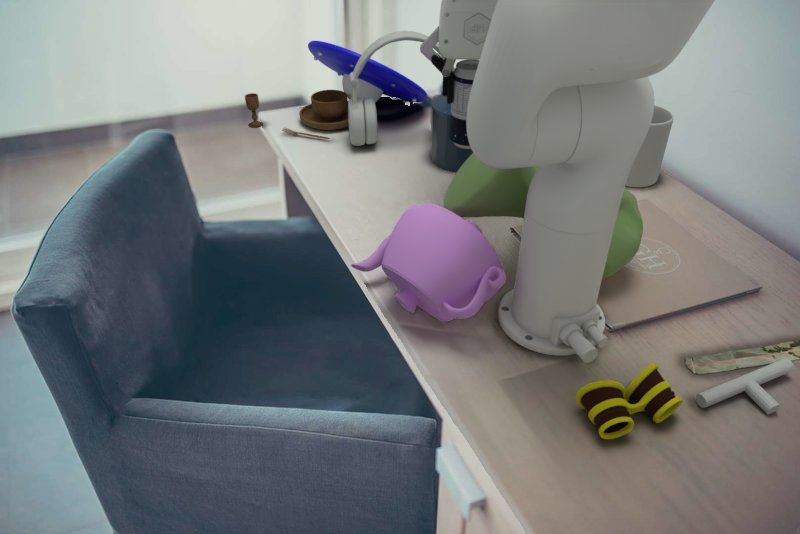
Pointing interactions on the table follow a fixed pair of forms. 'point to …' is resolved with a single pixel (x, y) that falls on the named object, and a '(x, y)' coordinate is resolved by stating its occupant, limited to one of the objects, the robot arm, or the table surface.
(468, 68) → the beverage can
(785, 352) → the bookmark
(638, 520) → the table surface
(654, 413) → the opera glasses
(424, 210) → the teapot
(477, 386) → the table surface
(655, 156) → the mug
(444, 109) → the pot lid
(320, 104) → the place setting
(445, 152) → the pot
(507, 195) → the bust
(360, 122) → the headphones
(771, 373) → the pipe joint
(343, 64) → the toy spaceship
